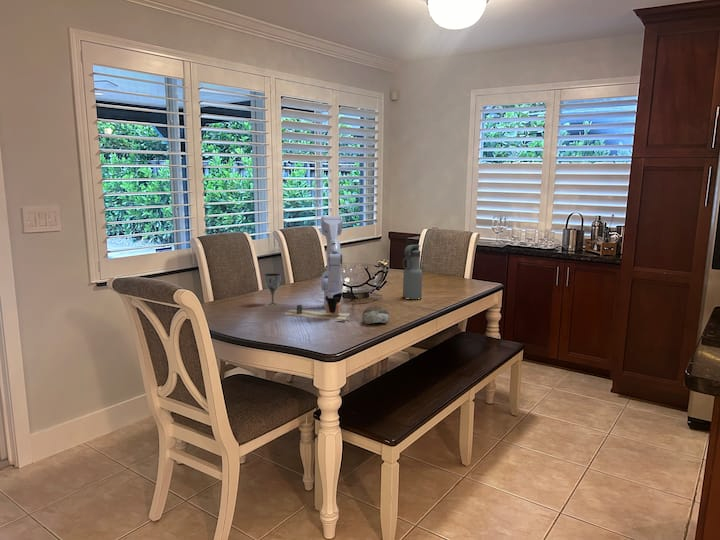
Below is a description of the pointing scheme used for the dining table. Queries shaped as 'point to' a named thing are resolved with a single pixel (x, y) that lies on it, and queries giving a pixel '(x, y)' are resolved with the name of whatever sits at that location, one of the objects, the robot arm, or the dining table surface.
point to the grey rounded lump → (375, 315)
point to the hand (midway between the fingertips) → (334, 310)
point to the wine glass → (272, 284)
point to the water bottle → (412, 273)
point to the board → (316, 314)
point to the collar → (338, 308)
